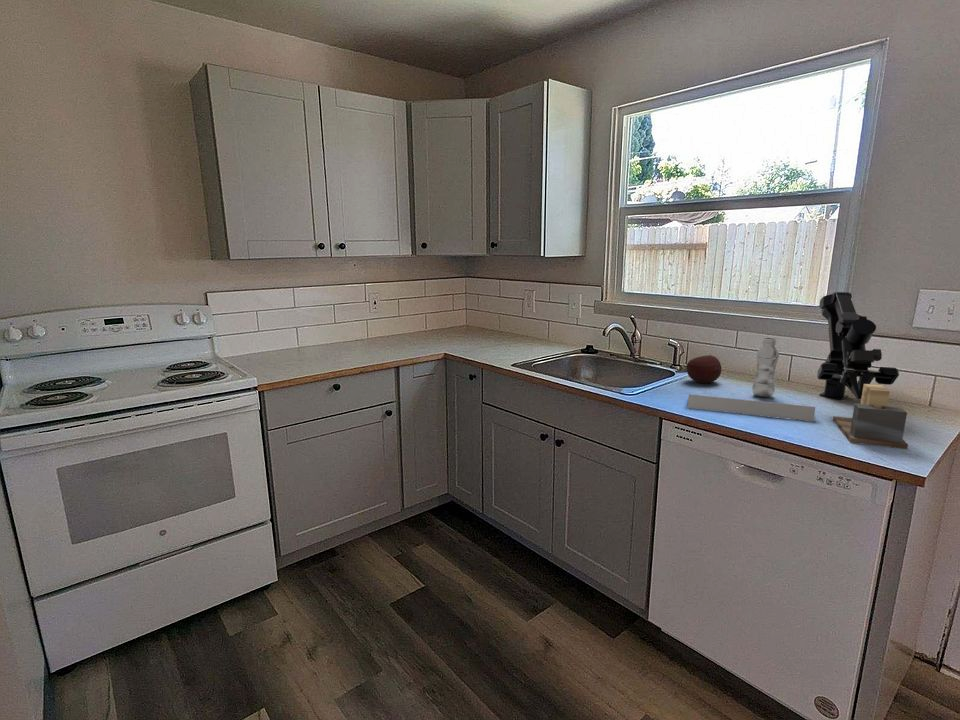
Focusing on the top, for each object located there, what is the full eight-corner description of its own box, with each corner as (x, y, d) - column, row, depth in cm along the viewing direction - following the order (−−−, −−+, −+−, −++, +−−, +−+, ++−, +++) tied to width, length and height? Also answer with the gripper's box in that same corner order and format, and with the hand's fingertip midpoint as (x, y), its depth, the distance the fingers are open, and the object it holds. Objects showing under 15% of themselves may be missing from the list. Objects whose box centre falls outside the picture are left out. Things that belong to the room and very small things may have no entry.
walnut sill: (832, 420, 148) (837, 389, 146) (882, 425, 143) (888, 394, 141) (850, 442, 131) (855, 408, 129) (907, 448, 127) (913, 414, 125)
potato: (678, 380, 193) (680, 354, 191) (707, 377, 196) (709, 351, 194) (698, 388, 182) (700, 360, 180) (728, 385, 186) (731, 357, 184)
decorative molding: (688, 408, 170) (687, 409, 160) (689, 394, 170) (688, 394, 160) (807, 421, 156) (813, 423, 147) (808, 406, 156) (815, 406, 147)
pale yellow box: (857, 425, 139) (863, 383, 137) (874, 427, 138) (881, 385, 135) (865, 434, 133) (872, 391, 130) (883, 436, 131) (891, 392, 128)
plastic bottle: (748, 393, 175) (755, 336, 171) (770, 394, 174) (777, 337, 170) (754, 398, 169) (761, 340, 165) (776, 399, 168) (784, 340, 163)
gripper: (824, 336, 150) (828, 381, 143) (902, 340, 143) (910, 387, 136) (815, 356, 159) (818, 400, 152) (888, 361, 152) (895, 407, 145)
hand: (859, 398), depth 146 cm, fingers closed
